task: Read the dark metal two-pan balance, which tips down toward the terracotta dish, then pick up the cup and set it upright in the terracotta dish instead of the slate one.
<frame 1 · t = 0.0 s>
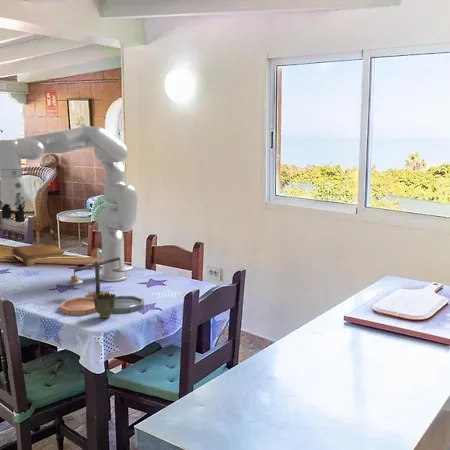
hand: (13, 219, 198), 31 cm above the table, tool pointing down, fingers open, 9 cm apart
cup: (104, 318, 187), on the table
diary: (38, 260, 269), on the table
dish slate: (123, 306, 199), on the table
balance: (98, 297, 210), on the table
dish terracotta: (82, 308, 196), on the table
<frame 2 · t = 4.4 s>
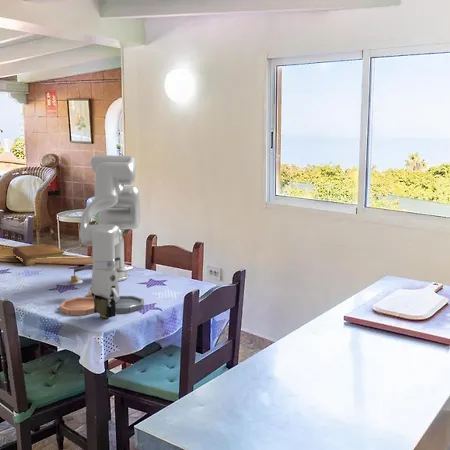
hand: (104, 313, 187), 1 cm above the table, tool pointing down, fingers closed on cup, 6 cm apart
cup: (104, 317, 187), on the table, touching gripper
everything else where it was.
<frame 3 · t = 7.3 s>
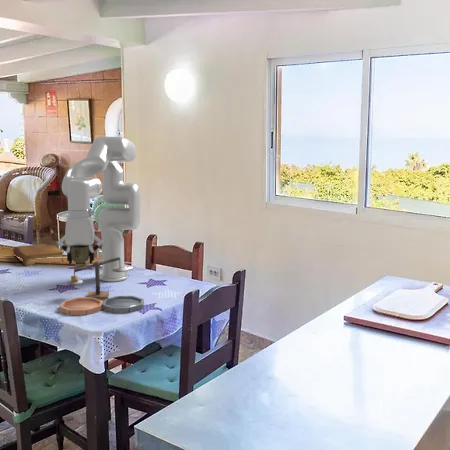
hand: (80, 262, 193), 17 cm above the table, tool pointing down, fingers closed on cup, 6 cm apart
cup: (80, 266, 194), point 16 cm above the table, touching gripper
everything else where it was.
when the fingers open (4 cm above the table, at t = 10.3 s): cup drops 1 cm, resting on dish terracotta.
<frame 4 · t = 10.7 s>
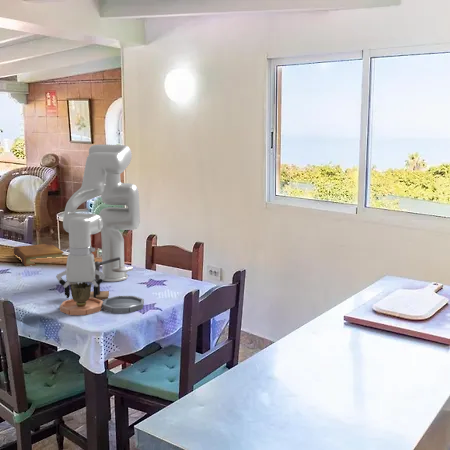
hand: (81, 296, 195), 4 cm above the table, tool pointing down, fingers open, 9 cm apart
cup: (81, 306, 196), point 1 cm above the table, touching dish terracotta
everything else where it was.
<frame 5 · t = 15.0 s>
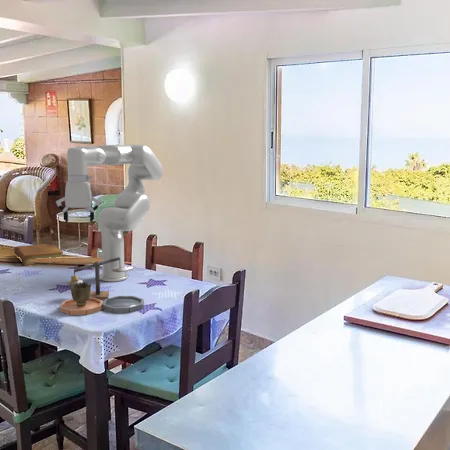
hand: (79, 221, 214), 28 cm above the table, tool pointing down, fingers open, 9 cm apart
nothing on the table moved.
at the end: cup inside the target area on the dish terracotta (0.3 cm from its centre), point 0.8 cm above the dish terracotta's base; cup tilted 0°; the gripper is holding nothing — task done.
